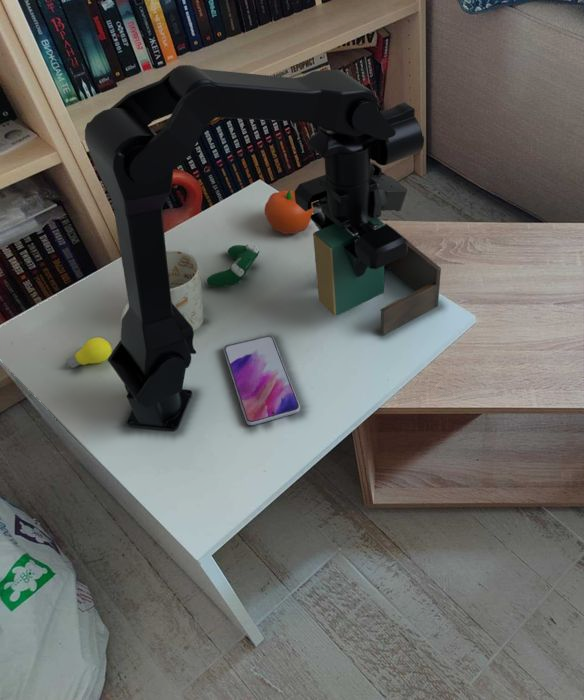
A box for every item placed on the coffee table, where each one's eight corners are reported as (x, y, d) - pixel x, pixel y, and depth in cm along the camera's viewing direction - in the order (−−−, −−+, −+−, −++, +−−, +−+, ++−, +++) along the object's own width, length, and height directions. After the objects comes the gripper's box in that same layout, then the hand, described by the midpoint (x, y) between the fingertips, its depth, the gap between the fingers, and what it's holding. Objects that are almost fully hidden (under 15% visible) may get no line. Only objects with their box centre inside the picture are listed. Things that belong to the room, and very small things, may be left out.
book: (334, 317, 99) (330, 247, 89) (318, 302, 101) (312, 232, 91) (384, 292, 103) (385, 224, 94) (368, 278, 105) (367, 209, 96)
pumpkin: (314, 240, 115) (316, 201, 111) (266, 240, 113) (265, 201, 108) (309, 217, 121) (311, 179, 116) (263, 216, 118) (262, 178, 113)
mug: (223, 318, 101) (211, 267, 94) (154, 367, 94) (134, 316, 86) (185, 294, 104) (171, 242, 97) (115, 339, 96) (93, 288, 89)
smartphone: (272, 333, 99) (301, 409, 90) (272, 337, 99) (301, 412, 91) (221, 345, 96) (246, 424, 87) (222, 349, 97) (247, 428, 88)
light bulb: (113, 341, 95) (119, 359, 93) (73, 362, 94) (77, 380, 92) (99, 328, 92) (105, 346, 91) (57, 349, 91) (62, 367, 89)
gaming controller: (221, 299, 106) (243, 285, 103) (202, 283, 105) (223, 267, 101) (246, 263, 113) (267, 248, 109) (228, 247, 111) (249, 232, 107)
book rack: (383, 335, 102) (384, 297, 96) (332, 286, 108) (329, 247, 102) (437, 306, 107) (441, 268, 101) (385, 261, 114) (386, 222, 108)
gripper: (442, 188, 86) (434, 280, 98) (356, 125, 95) (358, 216, 106) (372, 218, 81) (373, 311, 92) (287, 148, 89) (297, 242, 101)
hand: (351, 267), depth 98 cm, fingers closed on book, 4 cm apart
